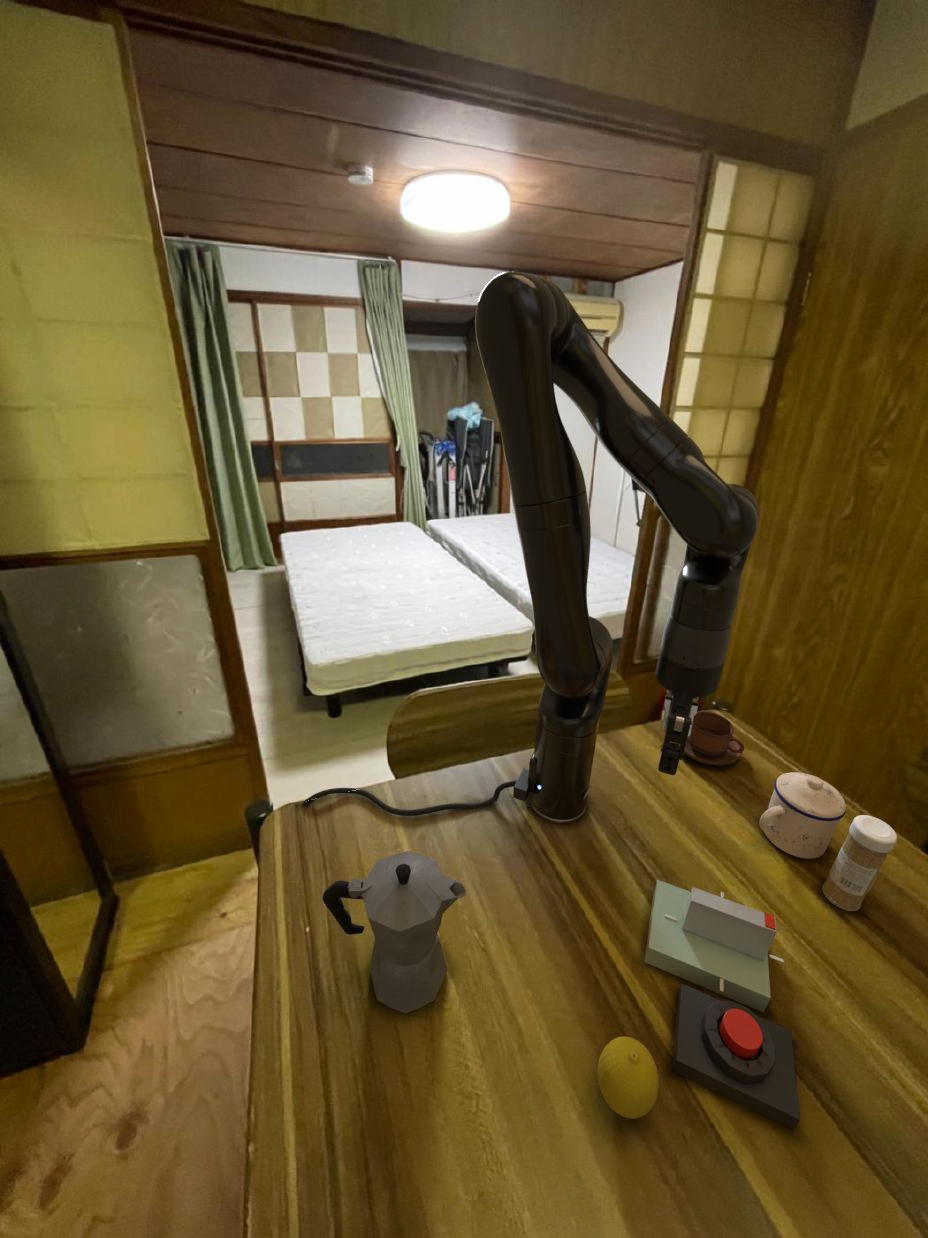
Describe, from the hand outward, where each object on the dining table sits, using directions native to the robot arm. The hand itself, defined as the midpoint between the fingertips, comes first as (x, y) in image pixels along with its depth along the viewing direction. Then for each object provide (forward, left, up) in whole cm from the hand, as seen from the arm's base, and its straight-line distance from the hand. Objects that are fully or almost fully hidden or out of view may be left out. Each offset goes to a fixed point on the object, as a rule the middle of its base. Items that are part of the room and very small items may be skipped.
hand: (669, 752), depth 71 cm
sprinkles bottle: (+25, +2, -18) cm, 31 cm away
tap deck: (+8, -14, -18) cm, 24 cm away
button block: (+11, -25, -18) cm, 32 cm away
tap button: (+11, -25, -14) cm, 31 cm away
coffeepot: (-25, -32, -18) cm, 44 cm away
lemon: (+1, -33, -18) cm, 38 cm away
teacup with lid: (+19, +10, -18) cm, 28 cm away
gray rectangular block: (+10, -14, -14) cm, 22 cm away
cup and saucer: (+7, +27, -18) cm, 33 cm away
